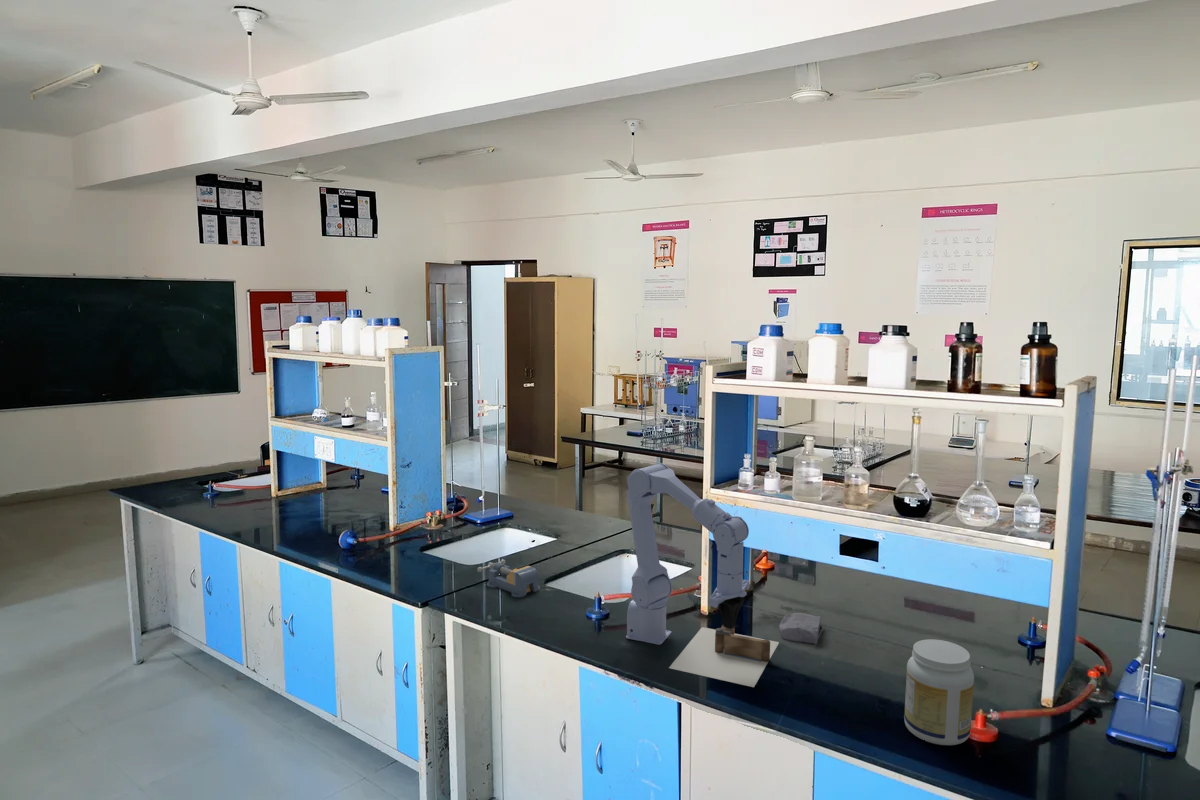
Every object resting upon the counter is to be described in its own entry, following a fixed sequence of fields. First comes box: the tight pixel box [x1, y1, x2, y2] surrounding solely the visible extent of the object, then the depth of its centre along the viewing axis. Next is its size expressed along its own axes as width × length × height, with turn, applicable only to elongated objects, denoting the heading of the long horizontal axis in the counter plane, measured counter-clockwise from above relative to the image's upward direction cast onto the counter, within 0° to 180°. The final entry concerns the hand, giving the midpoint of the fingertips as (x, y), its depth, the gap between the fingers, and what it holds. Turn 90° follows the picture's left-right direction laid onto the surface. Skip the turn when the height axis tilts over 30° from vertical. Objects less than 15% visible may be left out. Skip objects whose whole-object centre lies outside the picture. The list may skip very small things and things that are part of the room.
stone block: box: [778, 612, 821, 646], centre depth 198 cm, size 12×5×10 cm
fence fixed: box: [715, 624, 736, 653], centre depth 192 cm, size 2×12×5 cm, turn 154°
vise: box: [476, 558, 541, 598], centre depth 230 cm, size 18×10×7 cm, turn 48°
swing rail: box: [715, 627, 771, 662], centre depth 185 cm, size 13×2×5 cm, turn 66°
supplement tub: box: [903, 638, 975, 746], centre depth 154 cm, size 12×12×17 cm
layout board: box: [668, 627, 780, 688], centre depth 186 cm, size 20×24×1 cm
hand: (728, 627), depth 179 cm, fingers closed
